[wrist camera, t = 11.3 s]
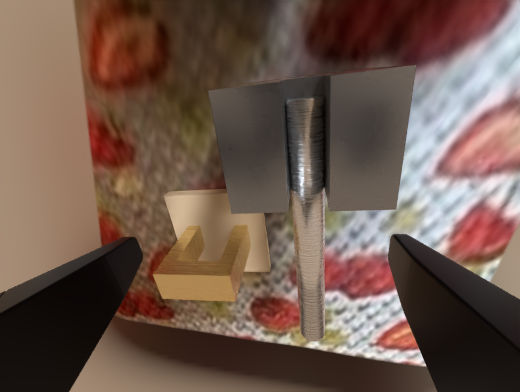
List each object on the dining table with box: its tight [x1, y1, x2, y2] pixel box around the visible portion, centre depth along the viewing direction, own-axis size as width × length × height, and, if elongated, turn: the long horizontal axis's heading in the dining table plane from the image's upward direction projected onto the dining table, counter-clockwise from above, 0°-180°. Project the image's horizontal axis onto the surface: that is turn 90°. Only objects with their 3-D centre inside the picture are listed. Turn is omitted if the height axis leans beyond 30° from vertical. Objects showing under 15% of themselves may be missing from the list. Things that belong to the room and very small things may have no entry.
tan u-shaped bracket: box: [153, 225, 251, 302], centre depth 21 cm, size 6×2×6 cm, turn 97°
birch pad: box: [164, 189, 271, 272], centre depth 24 cm, size 9×9×1 cm
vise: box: [208, 65, 416, 341], centre depth 18 cm, size 8×19×9 cm, turn 7°
